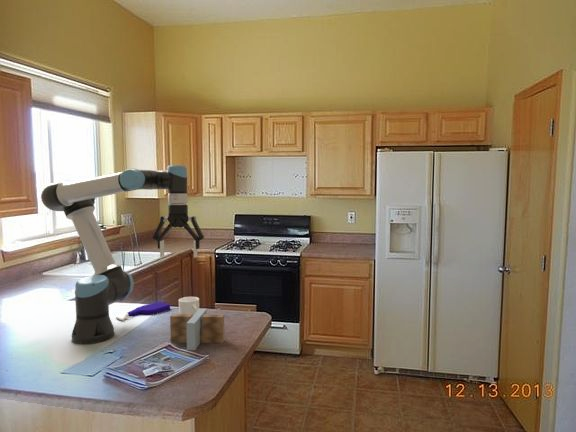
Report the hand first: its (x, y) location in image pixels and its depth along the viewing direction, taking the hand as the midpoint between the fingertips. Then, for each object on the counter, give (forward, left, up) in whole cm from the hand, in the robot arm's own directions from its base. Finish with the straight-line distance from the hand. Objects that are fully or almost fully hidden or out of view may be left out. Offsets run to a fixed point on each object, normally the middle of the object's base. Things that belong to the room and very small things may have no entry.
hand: (178, 257), depth 168 cm
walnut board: (+10, -10, -31) cm, 34 cm away
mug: (+2, +9, -31) cm, 32 cm away
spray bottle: (-25, +23, -31) cm, 46 cm away
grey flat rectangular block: (+10, -10, -31) cm, 34 cm away
